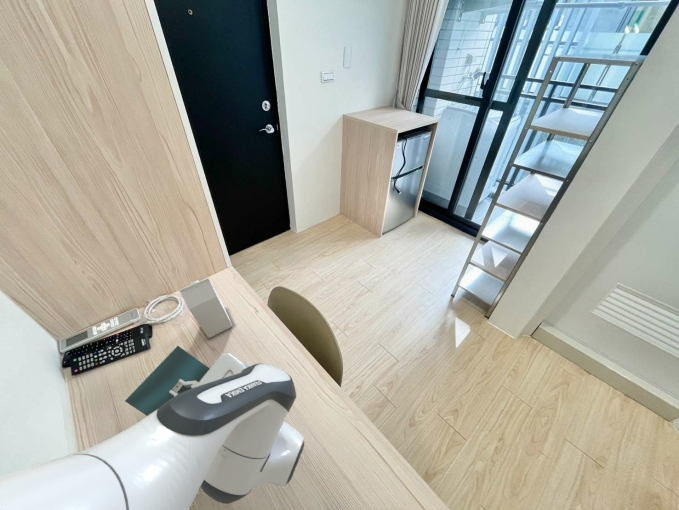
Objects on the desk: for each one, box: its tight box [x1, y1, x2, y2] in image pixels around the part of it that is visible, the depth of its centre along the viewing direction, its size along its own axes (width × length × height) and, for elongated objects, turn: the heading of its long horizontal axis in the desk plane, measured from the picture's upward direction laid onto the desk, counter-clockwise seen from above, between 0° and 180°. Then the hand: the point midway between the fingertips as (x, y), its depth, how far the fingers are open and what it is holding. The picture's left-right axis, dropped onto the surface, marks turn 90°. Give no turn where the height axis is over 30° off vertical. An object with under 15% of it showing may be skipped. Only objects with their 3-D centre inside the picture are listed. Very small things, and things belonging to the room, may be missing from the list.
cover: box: [124, 345, 211, 417], centre depth 57 cm, size 15×13×1 cm
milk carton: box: [178, 277, 233, 339], centre depth 75 cm, size 7×7×19 cm
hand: (175, 386), depth 56 cm, fingers closed, pressing on cover
